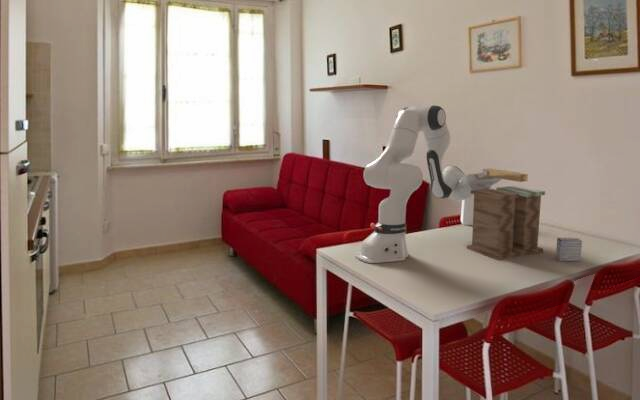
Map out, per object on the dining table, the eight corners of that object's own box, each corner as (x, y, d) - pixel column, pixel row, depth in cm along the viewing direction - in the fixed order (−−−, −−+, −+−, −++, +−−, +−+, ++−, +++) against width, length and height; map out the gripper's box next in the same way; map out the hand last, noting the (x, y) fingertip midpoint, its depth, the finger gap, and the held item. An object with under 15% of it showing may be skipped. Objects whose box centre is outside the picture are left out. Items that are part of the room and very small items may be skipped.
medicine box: (575, 258, 191) (577, 237, 190) (580, 261, 187) (582, 240, 186) (555, 258, 192) (556, 237, 191) (559, 261, 188) (561, 240, 186)
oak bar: (519, 181, 195) (520, 174, 194) (482, 175, 215) (482, 169, 214) (527, 181, 196) (527, 174, 196) (489, 175, 216) (489, 168, 216)
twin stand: (496, 259, 191) (499, 196, 186) (466, 248, 207) (469, 190, 203) (542, 252, 200) (546, 191, 196) (510, 241, 217) (514, 185, 212)
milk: (483, 220, 260) (485, 173, 255) (486, 225, 249) (488, 176, 244) (460, 220, 262) (462, 173, 257) (462, 225, 251) (464, 176, 246)
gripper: (453, 179, 221) (471, 167, 209) (488, 176, 228) (507, 164, 216) (457, 191, 219) (475, 180, 207) (492, 188, 227) (511, 176, 214)
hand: (492, 171), depth 212 cm, fingers closed on oak bar, 4 cm apart
